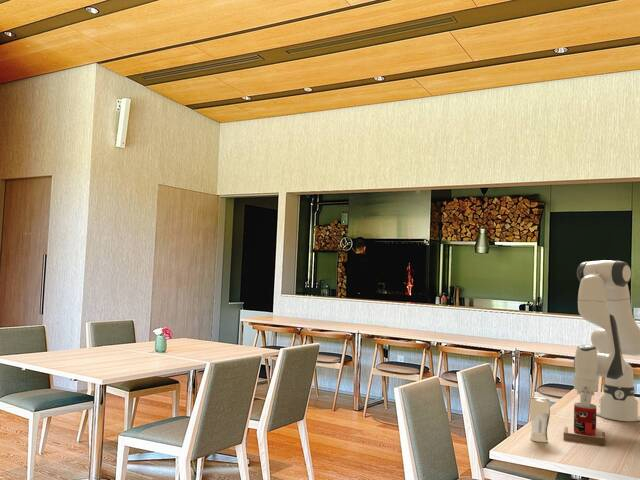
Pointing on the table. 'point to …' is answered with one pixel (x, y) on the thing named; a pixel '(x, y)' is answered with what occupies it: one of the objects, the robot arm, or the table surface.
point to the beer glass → (539, 418)
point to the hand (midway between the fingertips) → (585, 420)
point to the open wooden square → (584, 438)
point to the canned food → (585, 419)
